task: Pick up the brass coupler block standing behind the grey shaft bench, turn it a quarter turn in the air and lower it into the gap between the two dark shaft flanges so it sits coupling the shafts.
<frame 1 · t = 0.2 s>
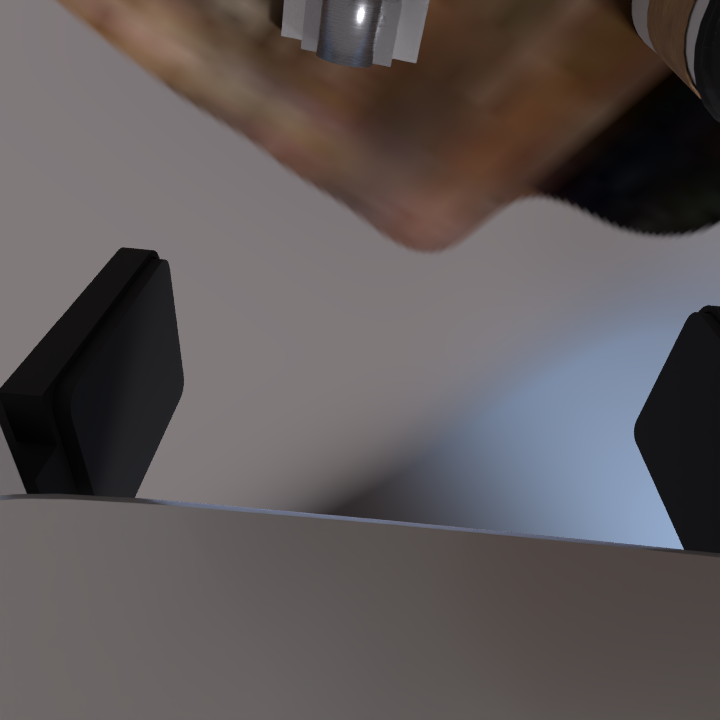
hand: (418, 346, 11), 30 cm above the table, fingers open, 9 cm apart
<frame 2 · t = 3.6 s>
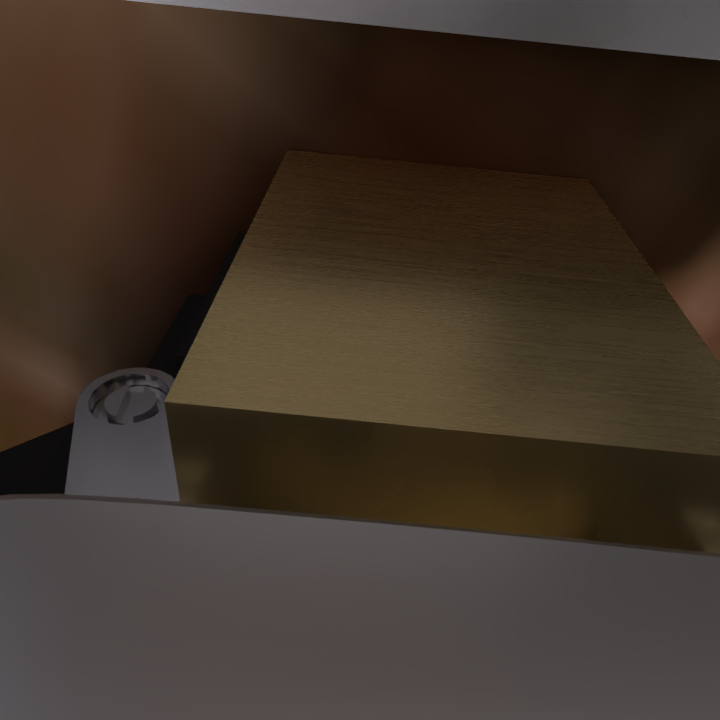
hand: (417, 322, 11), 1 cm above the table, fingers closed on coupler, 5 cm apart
coupler: (416, 294, 12), on the table, touching gripper
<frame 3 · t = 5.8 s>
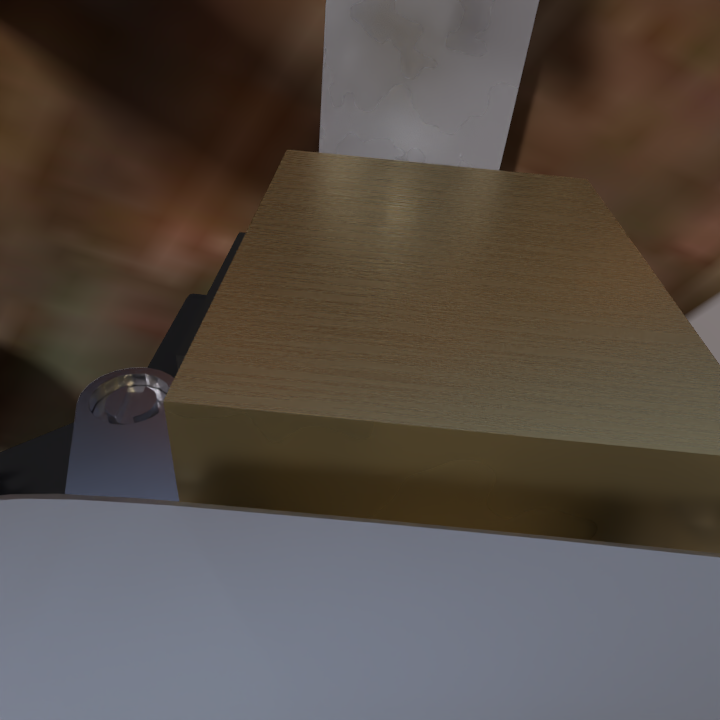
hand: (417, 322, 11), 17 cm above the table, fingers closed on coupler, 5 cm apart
shaft bench: (416, 100, 25), on the table
coupler: (416, 294, 12), point 16 cm above the table, touching gripper
when the fingers open (3 cm above the table, at t = 7.9 s): coupler drops 1 cm, resting on shaft bench.
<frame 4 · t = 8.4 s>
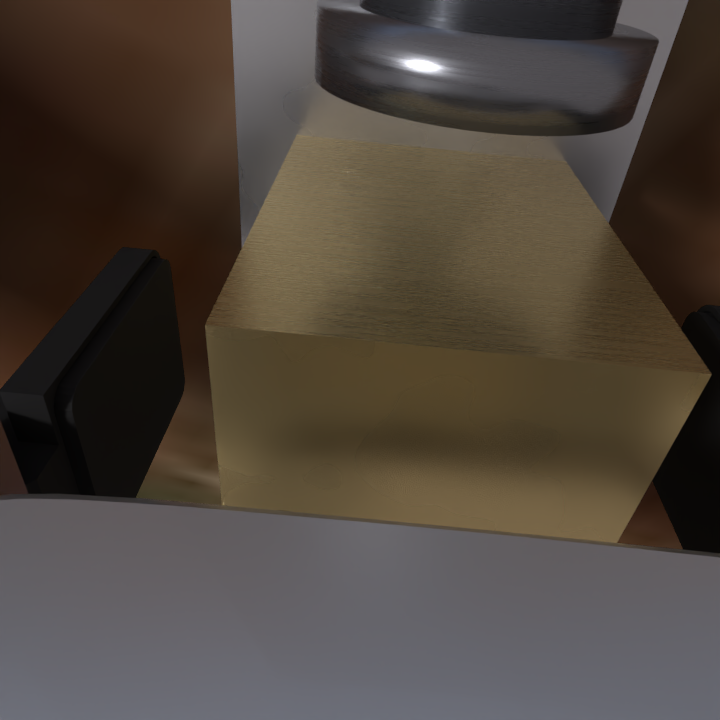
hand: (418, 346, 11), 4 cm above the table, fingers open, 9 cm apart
shaft bench: (414, 243, 14), on the table
coupler: (413, 268, 14), point 1 cm above the table, touching shaft bench
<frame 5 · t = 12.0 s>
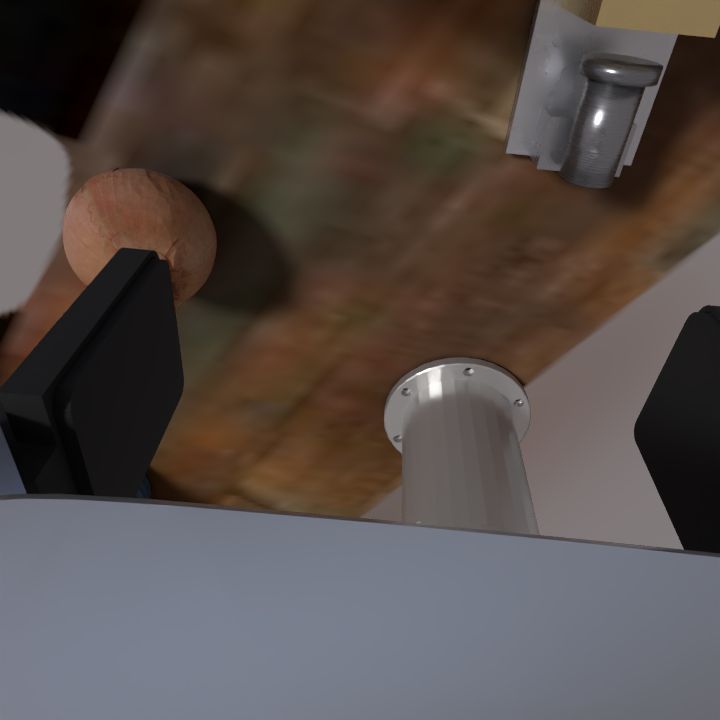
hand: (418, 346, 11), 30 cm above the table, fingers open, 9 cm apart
onion: (164, 213, 42), on the table
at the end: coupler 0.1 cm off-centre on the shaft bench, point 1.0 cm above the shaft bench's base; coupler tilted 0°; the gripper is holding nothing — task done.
